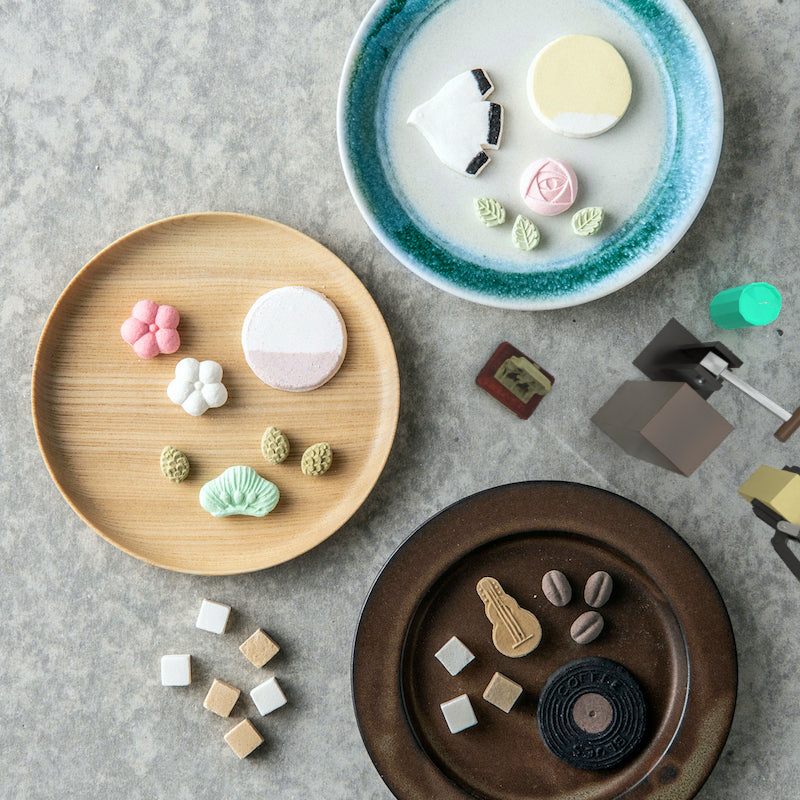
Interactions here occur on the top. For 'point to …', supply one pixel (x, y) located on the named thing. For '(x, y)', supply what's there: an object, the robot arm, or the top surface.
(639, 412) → the stand
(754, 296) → the candle
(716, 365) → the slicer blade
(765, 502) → the butter
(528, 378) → the sculpture
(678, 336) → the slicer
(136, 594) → the top surface
